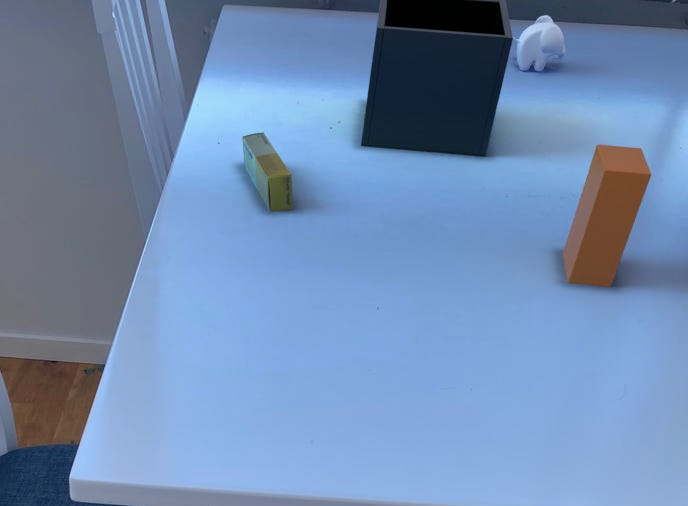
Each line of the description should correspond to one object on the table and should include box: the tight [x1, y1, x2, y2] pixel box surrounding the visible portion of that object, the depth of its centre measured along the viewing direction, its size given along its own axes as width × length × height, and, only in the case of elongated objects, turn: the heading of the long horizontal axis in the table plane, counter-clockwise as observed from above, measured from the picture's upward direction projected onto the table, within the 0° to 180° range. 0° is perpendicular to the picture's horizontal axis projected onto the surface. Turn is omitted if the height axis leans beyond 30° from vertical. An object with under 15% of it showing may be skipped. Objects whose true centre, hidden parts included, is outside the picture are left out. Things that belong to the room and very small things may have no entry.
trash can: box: [360, 0, 514, 158], centre depth 111 cm, size 15×15×13 cm
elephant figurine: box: [513, 15, 568, 73], centre depth 131 cm, size 7×8×6 cm
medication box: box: [242, 132, 293, 212], centre depth 102 cm, size 12×3×4 cm, turn 12°
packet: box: [562, 144, 652, 288], centre depth 88 cm, size 4×6×11 cm, turn 171°
